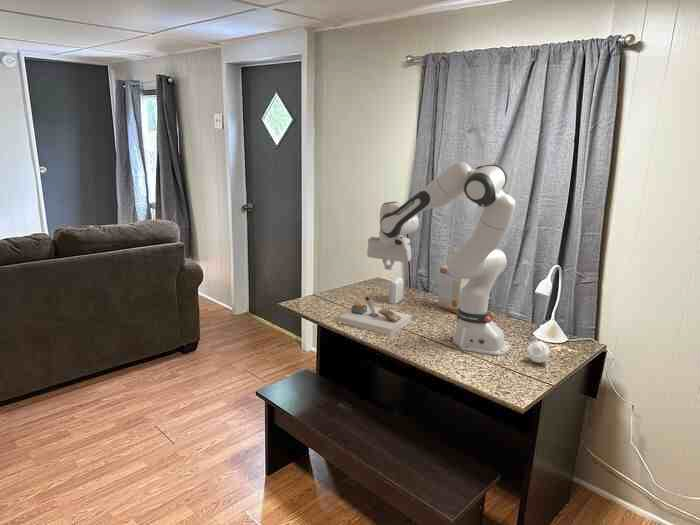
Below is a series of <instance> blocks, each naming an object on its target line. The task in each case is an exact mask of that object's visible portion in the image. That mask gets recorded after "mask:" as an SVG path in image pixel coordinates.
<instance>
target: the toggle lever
mask: <svg viewBox="0 0 700 525" xmlns="http://www.w3.org/2000/svg"><path fill="white" fill-rule="evenodd" d="M364 298H365V299H364V300H365V301H366V303H367V305H368V306H369V308H370V310H371V313H372V314H373V313H375V310H374V308H373V307H374V305H373V303H372V301H371V298H370V296H368V295H367V296H365V297H364Z"/></svg>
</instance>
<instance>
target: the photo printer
mask: <svg viewBox="0 0 700 525" xmlns="http://www.w3.org/2000/svg"><path fill="white" fill-rule="evenodd" d="M388 291H389V292H388V303H389V304H390V305H391V304H392V305H396V304H398V303H399V302H401V301H402V300H403V299H404V279H403V278H402V277H399V276H398V277H395V278H393V279H392V280H391V282H390V283H389V290H388Z"/></svg>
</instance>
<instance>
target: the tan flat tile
mask: <svg viewBox="0 0 700 525" xmlns="http://www.w3.org/2000/svg"><path fill="white" fill-rule="evenodd" d="M391 311H392V310H390V309H388V308H386V307H382V308H381V310H379V312H378V313H380V314H382V315H383V316H385V317H387V318H389V319H390V320H392V321H394V322H397V321H398V320H400V319H401V317H400V316H398V315H397V314H395V313H393V312H391Z"/></svg>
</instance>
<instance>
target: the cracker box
mask: <svg viewBox="0 0 700 525" xmlns="http://www.w3.org/2000/svg"><path fill="white" fill-rule="evenodd" d="M439 269H440V272H439V282H438V284H439V286H438V298H437V307H439V308H441V309H444V310H446V311H449V312H452V313H454V314H456V315H457V313H458V308H459V306H460V294H461V290H462V288H463V287H464V286H465V285H466V284H467V283H468V282H469V280H470V278H469V279H461V278H455V277H453V276H452V275H451V274H450V272H449V270H448V264H446V265H445V264H444V265H441V266H440V268H439Z"/></svg>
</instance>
